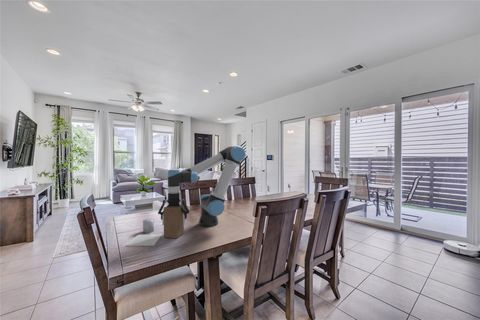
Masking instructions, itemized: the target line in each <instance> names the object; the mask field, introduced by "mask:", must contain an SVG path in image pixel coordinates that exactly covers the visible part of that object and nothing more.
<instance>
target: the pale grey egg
mask: <svg viewBox="0 0 480 320" xmlns="http://www.w3.org/2000/svg"><path fill="white" fill-rule="evenodd" d="M154 223H155V220H154V219H153V218H145V219H143V220H142V233H143V234H150V233H151V234H152V233H153V232H154V231H155V226H154V225H155V224H154Z"/></svg>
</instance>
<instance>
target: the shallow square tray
mask: <svg viewBox="0 0 480 320" xmlns="http://www.w3.org/2000/svg"><path fill="white" fill-rule="evenodd" d="M162 236H163V233H157V234H155V233H151V234H150V233H146V234H137V235H136V236H135V237H134V238H132V239H131V240H129V242H127V244H126V245H125V247H149V246H153V247H154V246H155V245H156V244H157V243H158V242H159V240H160V239H161V238H162Z"/></svg>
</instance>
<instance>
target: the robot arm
mask: <svg viewBox="0 0 480 320" xmlns="http://www.w3.org/2000/svg"><path fill="white" fill-rule="evenodd" d="M245 157H246V151H245V149H244V148H243V147H242V146H240V145H234V146H233V145H231V146H227V147H226V148H224V149H222V150H220V151H218V152H217V154H214V155H213V156H211V157H209V158H207V159H205V160H203V161H200V162H199V163H197V164H195V165H193V166H191V167H189V168H186V169H185V170H181V171H180V169H175V168H174V169H168V170H167V199H166V198H165V199H163V200H162V204H161V205H160V208H159V209H158V212H157V215H160V220H161V221H162V222H161V223H162V226H164V207H165V204H167V207H169V206H181V205H183V206H184V208H183V207H181V211H182V212H183V213H184V214H183V224H184V225H185V224H186V220H187V219H188V217H187V216H188V215H187V214H190V210H189V207H188V205H187V204H186V201H185V199H184V198H182V199H180V197H181V193H180V191H181V190H180V187H181V186H180V184H186V183H187V184H188V183H192V184H193V183H197V182H198V178H199V177H198V176H199V175H200V174H202V173H204V172H206V171H208V170H210V169H212V168H214V167H216V166H218V165H220V164H224V166H223V168H222V171H221V174H220V176H219V178H218V181H217V183H216V186H215V188H214V191H213V192H211V193H210V194H209V193H208V194H207V193H206V194H202V195H201V196H200V217H199V220H198V225H199V226H201V227H206V228H207V227H214V226H217V225H218V224H219V219H218V216H220V215H222V214H223V213H224V211H225V201H226V198H225V196H226V193H227V191H228V188H229V186H230V184H231V181H232V179H233V176H234V173H235V171H236V169H237V168H238V167H239V166H240V164H241V162H242V161H243V160H244V159H245ZM181 203H182V204H181Z"/></svg>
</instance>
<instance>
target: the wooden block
mask: <svg viewBox="0 0 480 320" xmlns="http://www.w3.org/2000/svg"><path fill="white" fill-rule="evenodd" d="M180 205H181V206H169V207H167V206H168V205H167V206H164V207H163V210H164V225H163V237H164V238H168V239H178V238H180V237H181V236H182V235H183V234H184V232H185V224H183V214H184V213H183V212H182V211H181V207H183V208H184V206H183V204H180ZM184 209H185V208H184Z"/></svg>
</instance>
